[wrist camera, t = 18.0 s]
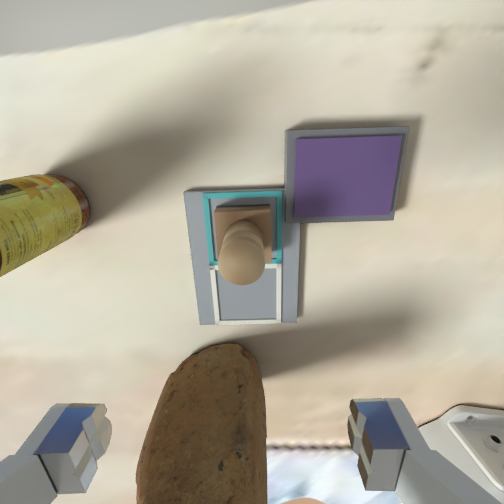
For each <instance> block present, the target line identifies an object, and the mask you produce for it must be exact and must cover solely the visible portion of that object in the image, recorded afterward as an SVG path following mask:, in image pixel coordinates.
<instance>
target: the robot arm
mask: <svg viewBox="0 0 504 504" xmlns="http://www.w3.org/2000/svg"><path fill="white" fill-rule="evenodd" d="M350 410H351V413H352V414H351V415H350V416H349V417H348V435H349V439H350V443H351V447H352V450H353V451H354V452H355V453H356V454H357V455H358V456H359V459H358V465H357V466H358V469H359V472H360V475H361V478H362V481H363V484H364V487H365V490H368V491H395V494H396V495H397V496H398V497H399V498H400V500H401V501H402V502H403V503H404V504H504V410H496V409H488V408H480V407H472V406H464V405H459V406H456V407H454V408H452V409H450V410H449V411H448V412H446V413H445V414H444V415H443V416H441V417H440V418H439V419H437V420H435V421H432V422H430V423H428V424H425V425H423V426H421V427H419V428H418V427H417V426H416V424H415V422H414V420H413V419H412V417H411V415H410V413H409V412H408V410H407V408H406V406H405V405H404V403H403V401H402V400H401V399H400V398H384V399H382V398H371V399H352V400H351V402H350ZM106 412H107V410H106V407H105V404H86V403H57V404H55V405H54V406H52V407H51V408H50V409H49V411H48V412H47V413H46V415H45V416H44V417H43V419H42V420H41V421H40V422H39V424H38V425H37V426H36V428H35V429H34V430H33V432H32V433H31V434H30V436H29V437H28V438H27V439H26V441H25V442H24V443H23V445H22V446H21V447H20V449H19V450H18V451H17V452H16V454H15V455H9V456H8V457H6V458H5V459H4V460H2V461H1V462H0V504H50V503H51V502H52V501H53V500H54V499H55V498H56V497H57V494H74V493H86V492H87V489H88V487H89V485H90V483H91V481H92V479H93V477H94V475H95V473H96V471H97V469H98V467H97V460H98V459H99V458H100V457H101V456H102V455H103V454H105V452H106V450H107V448H108V445H109V443H110V439H111V434H112V425H111V422H110V420H109V419H108V418H106V417H105V414H106Z"/></svg>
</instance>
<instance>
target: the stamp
mask: <svg viewBox="0 0 504 504" xmlns="http://www.w3.org/2000/svg"><path fill="white" fill-rule="evenodd" d="M214 220H215V232H216V243H217V254H218V269H219V272H220V274H221V275H222V276H223V278H224V279H225V280H227V281H228V282H230V283H232V284H235V285H248V284H251V283H253V282H255V281H257V280H258V279H259V278H260V277H261V275H262V274H263V272H264V269H265V263H272V245H271V207H270V204H257V205H227V206H217V207H216V209H215V211H214Z"/></svg>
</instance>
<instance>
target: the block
mask: <svg viewBox="0 0 504 504" xmlns="http://www.w3.org/2000/svg"><path fill="white" fill-rule="evenodd" d="M266 437H267V434H266V408H265V396H264V389H263V384H262V379H261V375H260V372H259V368H258V365H257V362H256V360H255V358H254V356H253V355H252V354H251V353H250V352H247V351H246V350H245V349H244V348H243V347H242V346H240V345H238V344H221V345H215V346H211V347H209V348H207V349H204V350H202V351H201V352H200V353H199V354H194V355H192V356H190V357H188V358H187V359H185V360H184V361H183V362H182V363H181V364H180V365H179V367H178V368H177V370H176V371H175V372H174V373H171V374H170V376H169V377H168V379H167V382H166V384H165V386H164V388H163V391H162V393H161V396H160V398H159V401H158V403H157V406H156V409H155V411H154V414H153V417H152V420H151V423H150V425H149V428H148V431H147V434H146V437H145V440H144V443H143V447H142V450H141V453H140V457H139V461H138V465H137V471H136V483H137V504H267V458H266Z"/></svg>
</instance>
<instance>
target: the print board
mask: <svg viewBox="0 0 504 504" xmlns="http://www.w3.org/2000/svg"><path fill="white" fill-rule="evenodd" d="M183 194H184V201H185V209H186V217H187V225H188V233H189V241H190V249H191V257H192V265H193V273H194V281H195V289H196V297H197V305H198V313H199V321H200V325H231V324H272V323H297V300H298V272H299V244H300V223H288V224H286V222H285V188H266V189H235V190H203V191H185V192H184V193H183ZM257 204H270V207H271V245H272V263H265V269H264V272H263V274H262V275H261V277H260V278H259V279H258V280H257V281H255V282H253V283H251V284H248V285H235V284H232V283H230V282H228V281H227V280H225V279H224V278H223V276H222V275H221V274H220V272H219V269H218V254H217V243H216V232H215V220H214V211H215V209H216V207H217V206H227V205H257Z"/></svg>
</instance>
